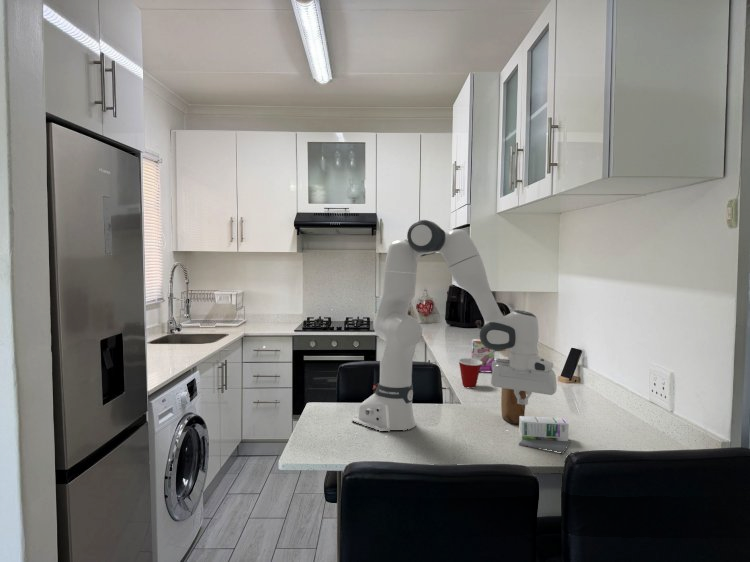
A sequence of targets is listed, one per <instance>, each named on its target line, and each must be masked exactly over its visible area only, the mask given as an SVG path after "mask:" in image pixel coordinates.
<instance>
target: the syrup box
mask: <svg viewBox="0 0 750 562" xmlns="http://www.w3.org/2000/svg"><path fill="white" fill-rule="evenodd" d="M518 433H519V436H520V438H521V440H522V439H536V440H554V441H568V440H569V422H568V421H567V420H566V419H565V418H564V417H548V416H547V417H545V416H525V415H524V416H520V417H519V424H518Z"/></svg>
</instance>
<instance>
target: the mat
mask: <svg viewBox="0 0 750 562" xmlns="http://www.w3.org/2000/svg"><path fill="white" fill-rule="evenodd" d="M570 441H571V442H572V440H571V439H568V441H554V440H536V439H522V438H521V440H520V441H519V443H518V446H521V445H522V446H521V447H525V446H528V447H527V448H530V447H534V448H533V449H535V448H541V449H547V450H552V451H557V452H561V453H563V452H564V450H565V449H566V447H567V446H568V444H569V443H570V444H571V442H570ZM570 444H569V445H570ZM568 447H569V446H568ZM568 447H567V448H568ZM566 450H567V449H566ZM566 450H565V451H566ZM564 453H565V452H564Z"/></svg>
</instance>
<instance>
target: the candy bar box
mask: <svg viewBox="0 0 750 562" xmlns="http://www.w3.org/2000/svg"><path fill="white" fill-rule="evenodd" d="M470 358H471V359H476V360H479V361H481V362H482V365H481V367H480V370H479V371H493V370H492V361H493V360H495V351H494V350H491V349H488V348H486V347H485V346H484V345H483V344H482V342H481V340H480V338H479V339H476V338H475V339H474V338H473V339H471V355H470Z"/></svg>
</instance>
